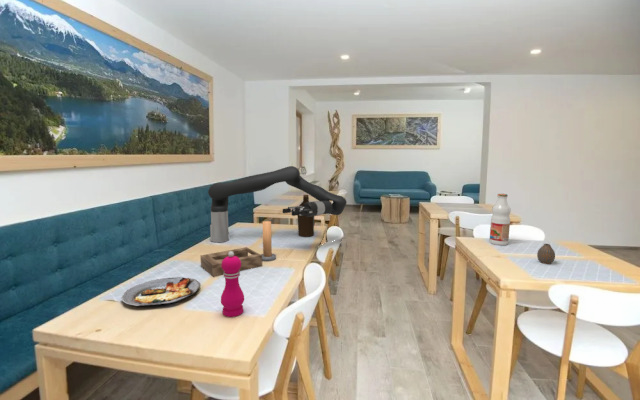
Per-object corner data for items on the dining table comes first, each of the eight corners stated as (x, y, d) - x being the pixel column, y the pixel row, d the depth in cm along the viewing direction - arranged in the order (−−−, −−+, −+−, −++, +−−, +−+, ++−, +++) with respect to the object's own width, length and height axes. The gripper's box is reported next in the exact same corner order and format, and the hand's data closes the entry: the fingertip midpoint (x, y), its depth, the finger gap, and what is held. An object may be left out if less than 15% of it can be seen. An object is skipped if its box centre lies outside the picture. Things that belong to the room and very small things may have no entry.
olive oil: (300, 237, 200) (300, 196, 197) (295, 233, 210) (295, 194, 207) (317, 236, 204) (317, 195, 201) (311, 232, 214) (311, 193, 211)
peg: (257, 261, 157) (256, 223, 155) (261, 256, 165) (260, 220, 163) (274, 261, 157) (273, 223, 154) (277, 256, 165) (276, 220, 162)
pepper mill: (223, 307, 110) (221, 248, 108) (246, 306, 111) (244, 247, 108) (219, 318, 103) (216, 255, 100) (243, 317, 104) (241, 254, 101)
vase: (552, 261, 159) (554, 243, 157) (555, 265, 152) (557, 247, 151) (535, 259, 162) (537, 241, 160) (537, 263, 155) (539, 245, 154)
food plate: (204, 279, 134) (203, 271, 134) (195, 306, 112) (194, 296, 111) (135, 286, 129) (134, 277, 129) (112, 315, 107) (111, 304, 106)
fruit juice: (510, 246, 184) (514, 195, 180) (491, 245, 187) (495, 194, 183) (505, 241, 193) (509, 193, 189) (487, 240, 196) (491, 192, 192)
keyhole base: (246, 257, 163) (246, 247, 162) (262, 266, 151) (261, 255, 150) (200, 266, 150) (200, 255, 149) (213, 276, 137) (213, 265, 137)
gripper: (306, 200, 179) (279, 203, 170) (322, 203, 168) (295, 206, 159) (306, 214, 181) (280, 217, 171) (322, 217, 169) (295, 222, 160)
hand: (287, 212), depth 165 cm, fingers open, 8 cm apart
